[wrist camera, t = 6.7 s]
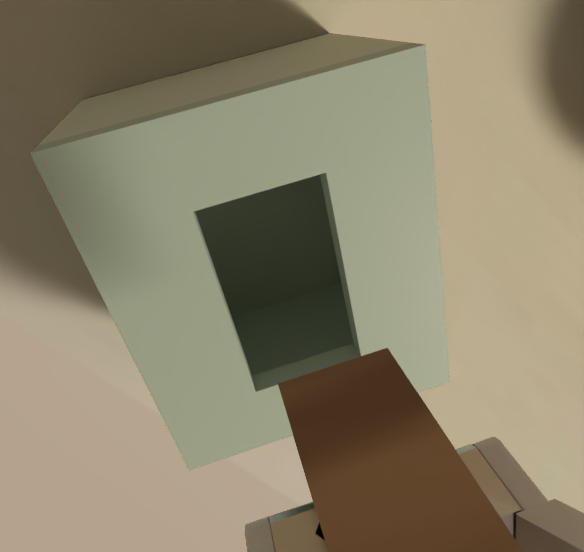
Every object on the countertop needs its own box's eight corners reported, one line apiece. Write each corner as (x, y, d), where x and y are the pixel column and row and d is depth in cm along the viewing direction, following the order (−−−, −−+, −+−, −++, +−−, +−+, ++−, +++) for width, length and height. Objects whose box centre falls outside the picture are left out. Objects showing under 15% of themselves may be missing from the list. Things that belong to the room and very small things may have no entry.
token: (277, 383, 10) (355, 643, 6) (387, 347, 11) (537, 573, 6) (321, 521, 13) (397, 774, 9) (409, 490, 13) (527, 721, 9)
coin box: (81, 99, 22) (29, 153, 14) (330, 33, 23) (425, 44, 15) (182, 336, 29) (189, 470, 21) (369, 277, 30) (449, 381, 22)
